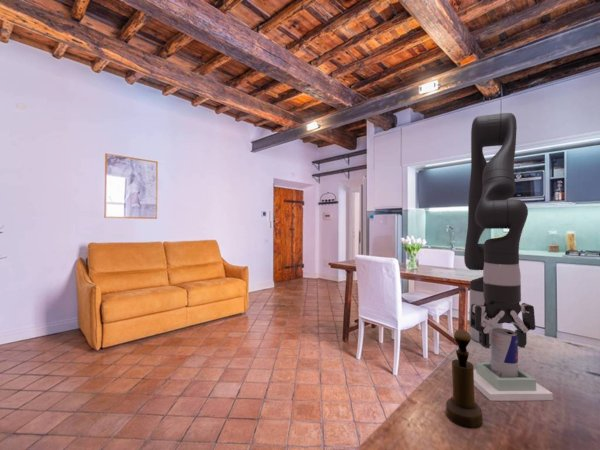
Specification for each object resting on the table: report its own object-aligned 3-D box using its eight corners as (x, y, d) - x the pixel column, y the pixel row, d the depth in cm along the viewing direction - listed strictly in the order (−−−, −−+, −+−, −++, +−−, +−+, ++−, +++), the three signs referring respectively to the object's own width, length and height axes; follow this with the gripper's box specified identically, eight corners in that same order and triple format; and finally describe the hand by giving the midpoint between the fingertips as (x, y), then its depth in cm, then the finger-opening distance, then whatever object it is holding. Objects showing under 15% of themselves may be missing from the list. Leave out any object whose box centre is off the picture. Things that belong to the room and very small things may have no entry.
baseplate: (463, 375, 76) (462, 360, 76) (516, 375, 76) (516, 359, 76) (490, 400, 65) (490, 383, 65) (552, 400, 65) (552, 382, 65)
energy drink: (523, 386, 68) (523, 335, 68) (501, 386, 68) (501, 335, 67) (507, 374, 73) (507, 327, 73) (486, 374, 73) (486, 327, 73)
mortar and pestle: (450, 403, 64) (448, 322, 64) (484, 415, 60) (482, 329, 60) (442, 419, 59) (441, 331, 59) (479, 433, 55) (477, 338, 55)
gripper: (519, 277, 74) (520, 340, 74) (463, 278, 74) (464, 340, 74) (543, 283, 67) (544, 353, 67) (481, 284, 67) (482, 354, 67)
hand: (502, 346), depth 71 cm, fingers open, 8 cm apart
